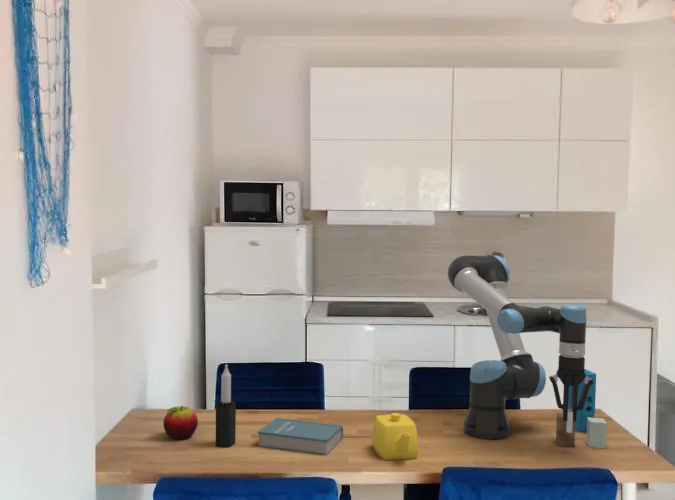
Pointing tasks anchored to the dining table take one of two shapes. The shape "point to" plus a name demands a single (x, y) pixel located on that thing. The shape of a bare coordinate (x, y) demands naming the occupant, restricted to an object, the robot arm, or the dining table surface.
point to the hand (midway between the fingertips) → (569, 431)
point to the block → (589, 403)
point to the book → (300, 436)
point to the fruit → (180, 422)
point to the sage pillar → (596, 432)
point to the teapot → (395, 437)
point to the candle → (225, 413)
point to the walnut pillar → (564, 432)
